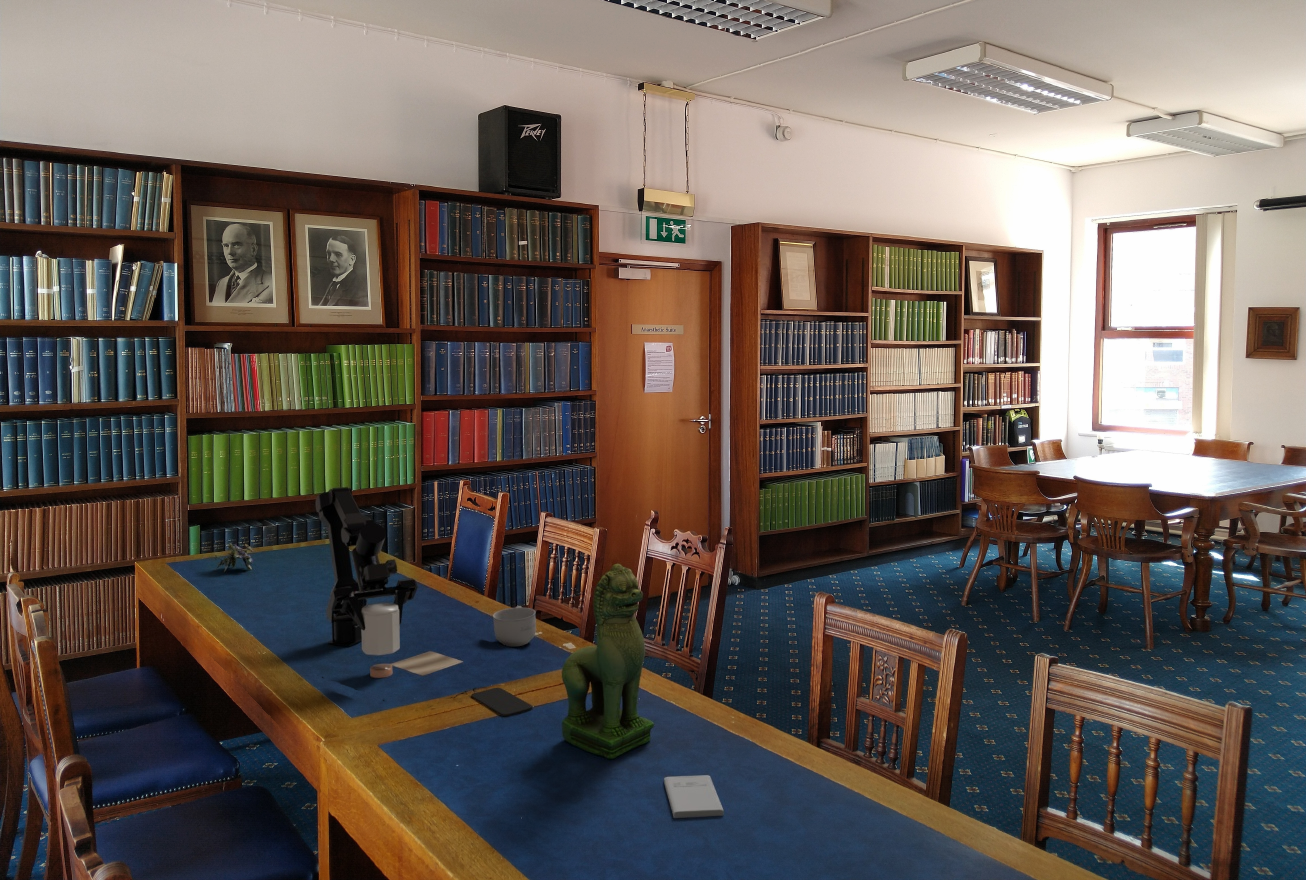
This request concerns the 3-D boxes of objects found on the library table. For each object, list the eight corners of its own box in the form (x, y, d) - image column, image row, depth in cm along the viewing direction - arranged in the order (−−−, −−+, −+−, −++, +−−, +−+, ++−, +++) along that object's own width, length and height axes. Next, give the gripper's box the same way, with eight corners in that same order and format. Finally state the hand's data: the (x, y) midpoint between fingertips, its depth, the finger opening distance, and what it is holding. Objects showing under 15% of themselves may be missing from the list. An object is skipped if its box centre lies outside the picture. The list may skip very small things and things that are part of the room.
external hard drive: (673, 821, 149) (663, 784, 162) (723, 818, 150) (710, 782, 162) (673, 811, 149) (663, 775, 161) (723, 809, 150) (710, 774, 162)
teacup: (527, 651, 230) (527, 619, 229) (486, 648, 232) (486, 616, 231) (545, 634, 243) (545, 604, 243) (506, 631, 246) (506, 602, 245)
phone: (499, 686, 205) (535, 706, 193) (499, 690, 205) (535, 710, 193) (468, 694, 200) (503, 715, 189) (468, 697, 200) (503, 719, 189)
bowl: (366, 682, 208) (365, 669, 207) (378, 675, 212) (378, 662, 212) (384, 685, 206) (384, 671, 206) (396, 677, 210) (396, 664, 210)
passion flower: (249, 585, 310) (261, 560, 306) (215, 585, 303) (227, 559, 298) (241, 561, 317) (254, 536, 312) (208, 560, 309) (220, 534, 305)
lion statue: (614, 764, 168) (615, 575, 164) (550, 739, 178) (550, 561, 175) (661, 740, 178) (663, 562, 175) (598, 718, 189) (599, 549, 185)
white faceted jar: (368, 657, 203) (367, 614, 202) (358, 647, 210) (357, 605, 209) (403, 651, 207) (402, 609, 206) (393, 641, 214) (392, 601, 213)
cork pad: (389, 670, 215) (389, 664, 215) (430, 656, 225) (430, 650, 225) (422, 682, 208) (422, 675, 208) (463, 667, 218) (463, 661, 217)
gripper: (331, 552, 204) (345, 614, 196) (414, 544, 214) (431, 602, 206) (324, 579, 212) (337, 640, 204) (404, 570, 222) (420, 627, 214)
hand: (382, 626), depth 207 cm, fingers closed on white faceted jar, 8 cm apart
